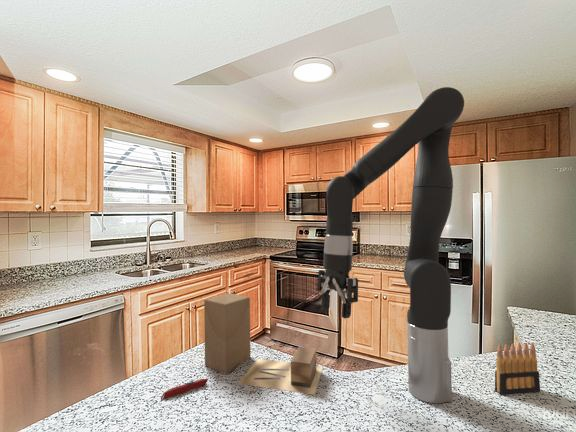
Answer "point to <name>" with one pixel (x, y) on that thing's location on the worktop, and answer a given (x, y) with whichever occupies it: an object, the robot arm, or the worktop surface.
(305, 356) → the block
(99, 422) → the worktop surface
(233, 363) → the wooden block
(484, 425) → the worktop surface
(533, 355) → the ammunition clip
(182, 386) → the utility knife
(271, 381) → the pine board
